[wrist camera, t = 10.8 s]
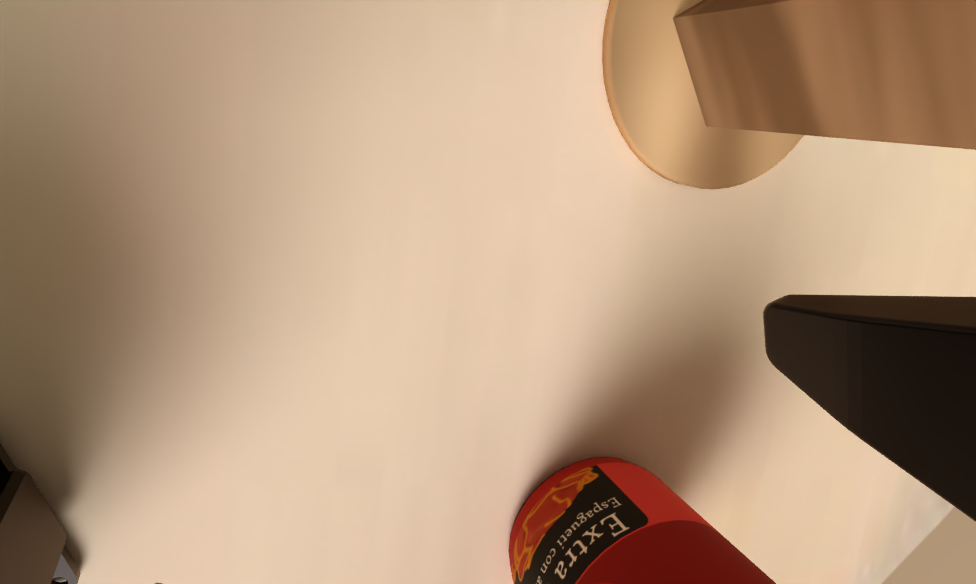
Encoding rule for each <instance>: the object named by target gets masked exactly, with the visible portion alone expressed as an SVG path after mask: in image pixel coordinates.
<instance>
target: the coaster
mask: <svg viewBox="0 0 976 584" xmlns="http://www.w3.org/2000/svg"><path fill="white" fill-rule="evenodd" d="M701 1H702V0H610V3H609V7H608V12H607V16H606V20H605V28H604V36H603V58H602V62H603V74H604V83H605V88H606V93H607V98H608V102H609V106H610V109H611V112H612V115H613V118H614V120H615V122H616V124H617V127H618V129H619V131H620V133H621V135H622V137H623V138H624V140H625V141H626V143H627V144H628V146H629V147H630V149H631V150H632V151H633V152H634V154H635V155H636V156H637V157H638V158H639V159H640V161H642V162H643V163H644V164H645V165H646V166H647V167H649V168H650V169H651V170H652V171H654V172H655V173H657V174H659V175H660V176H662V177H664V178H666V179H668V180H670V181H673V182H675V183H678V184H683V185H688V186H692V187H697V188H702V189H721V188H729V187H733V186H736V185H740V184H743V183H746V182H748V181H750V180H752V179H755V178H757V177H758V176H760V175H762V174H763V173H765V172H767V171H768V170H770V169H771V168H772V167H773V166H775V165H776V164H777V163H778V162H780V161H781V160H782V159H783V158H784V157H785V156H786V155H787V154H788V153H789V152H790V151H791V150H792V149H793V148H794V147H795V145H796V144H797V143H798V142H799V141H800V139H801V138H802V137H803V136H804V135H799V134H788V133H776V132H764V131H753V130H741V129H729V128H718V127H706V125H705V121H704V118H703V115H702V112H701V108H700V105H699V102H698V99H697V95H696V92H695V89H694V86H693V82H692V79H691V76H690V73H689V70H688V66H687V63H686V60H685V57H684V53H683V50H682V47H681V44H680V40H679V37H678V34H677V31H676V27H675V24H674V21H673V18H674V17H676V16H677V15H679V14H681V13H682V12H684V11H686V10H687V9H689V8H691V7H692V6H694V5H696V4H697V3H699V2H701Z"/></svg>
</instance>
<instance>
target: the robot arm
mask: <svg viewBox="0 0 976 584" xmlns="http://www.w3.org/2000/svg"><path fill="white" fill-rule="evenodd" d="M763 319H764V333H765V347H766V353H767V356H768V358H769V360H770V362H771V363H772V364H773V365H774V366H775V367H776V368H777V369H778V370H779V371H780V372H782V373H783V374H784V375H785V376H786V377H787V378H788V379H790V380H791V381H792V382H793V383H794V384H795V385H797V386H798V387H799V388H800V389H801V390H802V391H804V392H805V393H806V394H807V395H808V396H809V397H810V398H812V399H813V400H814V401H815V402H816V403H817V404H819V405H820V406H821V407H822V408H823V409H824V410H826V411H827V412H828V413H829V414H830V415H831V416H832V417H834V418H835V419H836V420H837V421H838V422H840V423H841V424H842V425H843V426H844V427H846V428H847V429H848V430H849V431H851V432H852V433H853V434H855V435H856V436H857V437H859V438H860V439H861V440H863V441H864V442H866V443H867V444H868V445H870V446H871V447H873V448H874V449H875V450H877V451H878V452H880V453H881V454H882V455H884V456H885V457H886V458H888V459H889V460H891V461H892V462H893V463H895V464H896V465H898V466H899V467H900V468H902V469H903V470H905V471H906V472H907V473H909V474H910V475H912V476H913V477H914V478H916V479H917V480H919V481H920V482H921V483H923V484H924V485H925V486H927V487H928V488H930V489H931V490H932V491H934V492H935V493H937V494H938V495H939V496H941V497H942V498H944V499H945V500H946V501H948V502H949V503H951V504H952V505H953V506H955V507H956V508H957V509H959V510H960V511H962V512H963V513H964V514H966V515H967V516H969V517H970V518H972V519H973V520H974V521H976V297H933V296H858V295H787V296H784V297H782V298H779V299H777V300H775V301H773V302H771V303H769V304H768V305H767V306H766V307H765V309H764V312H763ZM66 539H67V535H66V533H65V531H64V529H63V528H62V526H61V525H60V523H59V521H58V520H57V518H56V517H55V515H54V513H53V512H52V510H51V509H50V507H49V505H48V504H47V502H46V501H45V499H44V497H43V496H42V494H41V493H40V491H39V489H38V488H37V486H36V485H35V483H34V481H33V480H32V478H31V477H30V475H29V474H28V473H27V472H25V471H22V470H20V469H16V468H15V466H14V465H13V463H12V461H11V460H10V458H9V457H8V455H7V454H6V452H5V450H4V449H3V447H2V446H1V444H0V584H77V583H78V580H79V576H80V570H79V568H78V566H77V564H76V563H75V561H74V560H73V558H72V557H71V555H70V553H69V552H68V550H67V549H66V547H65V542H66ZM57 577H62V578H65V579H66V580H67V581H65V582H55V581H54V580H52V579H54V578H57ZM155 584H162V583H155Z"/></svg>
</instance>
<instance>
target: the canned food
mask: <svg viewBox="0 0 976 584" xmlns="http://www.w3.org/2000/svg"><path fill="white" fill-rule="evenodd" d="M509 558H510V567H511V572H512V578H513V582H514V584H776V583H775V582H774V581H773V580H772V579H770V578H769V577H768V576H767V575H766V574H765V573H764V572H763V571H761V570H760V569H759V568H758V567H757V566H756V565H755V564H754V563H752V562H751V561H750V560H749V559H748V558H747V557H746V556H745V555H744V554H742V553H741V552H740V551H739V550H738V549H737V548H736V547H735V546H733V545H732V544H731V543H730V542H729V541H728V540H727V539H726V538H725V537H723V536H722V535H721V534H720V533H719V532H718V531H717V530H716V529H714V528H713V527H712V526H711V525H710V524H709V523H708V522H707V521H705V520H704V519H703V518H702V517H701V516H700V515H699V514H698V513H697V512H695V511H694V510H693V509H692V508H691V507H690V506H689V505H688V504H686V503H685V502H684V501H683V500H682V499H681V498H680V497H679V496H678V495H676V494H675V493H674V492H673V491H672V490H671V489H670V488H669V487H667V486H666V485H665V484H664V483H663V482H662V481H661V480H660V479H658V478H657V477H656V476H655V475H654V474H652V473H651V472H649V471H648V470H646V469H645V468H642V467H640V466H637V465H635V464H632V463H630V462H627V461H624V460H621V459H618V458H609V457H601V458H590V459H587V460H583V461H580V462H577V463H574V464H572V465H570V466H568V467H566V468H564V469H562V470H560V471H558V472H557V473H555V474H554V475H553V476H551V477H550V478H548V479H547V480H546V481H545V482H544V483H543V484H542V485H541V486H539V487H538V488H537V489H536V490H535V491H534V492H533V494H532V495H531V496H530V498H529V499H528V500H527V502H526V503H525V504H524V506H523V507H522V509H521V511H520V513H519V515H518V517H517V519H516V520H515V523H514V526H513V530H512V533H511V536H510V544H509Z"/></svg>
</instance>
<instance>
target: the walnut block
mask: <svg viewBox="0 0 976 584" xmlns="http://www.w3.org/2000/svg"><path fill="white" fill-rule="evenodd" d="M673 21H674V24H675V27H676V31H677V34H678V37H679V40H680V44H681V47H682V50H683V53H684V57H685V60H686V63H687V66H688V70H689V73H690V76H691V79H692V82H693V86H694V89H695V92H696V95H697V99H698V102H699V105H700V108H701V112H702V115H703V118H704V121H705V125H706V127H718V128H729V129H741V130H753V131H764V132H776V133H788V134H799V135H811V136H823V137H835V138H846V139H858V140H870V141H881V142H893V143H905V144H916V145H928V146H940V147H952V148H963V149H975V150H976V0H702V1H701V2H699V3H697V4H696V5H694V6H692V7H691V8H689V9H687V10H686V11H684V12H682V13H681V14H679V15H677V16H676V17H674V18H673Z"/></svg>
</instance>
